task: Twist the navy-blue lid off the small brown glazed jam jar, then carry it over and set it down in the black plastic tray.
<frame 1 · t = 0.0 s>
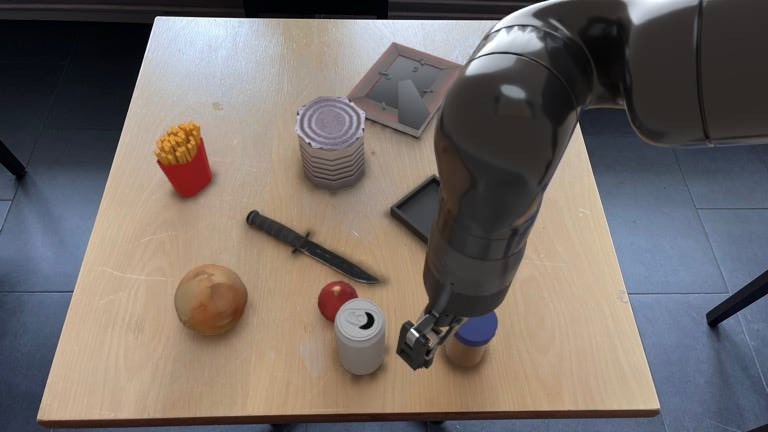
hand: (449, 333, 55), 19 cm above the table, tool pointing down, fingers open, 8 cm apart
jar: (463, 349, 74), on the table
onion: (339, 313, 77), on the table
beverage can: (361, 355, 74), on the table
lid: (474, 320, 66), point 10 cm above the table, screwed on, not yet turned
tray: (434, 215, 88), on the table
can: (334, 169, 94), on the table
french fries: (196, 183, 91), on the table
knife: (313, 251, 83), on the table
picture frame: (404, 92, 106), on the table
onion 2: (219, 314, 77), on the table
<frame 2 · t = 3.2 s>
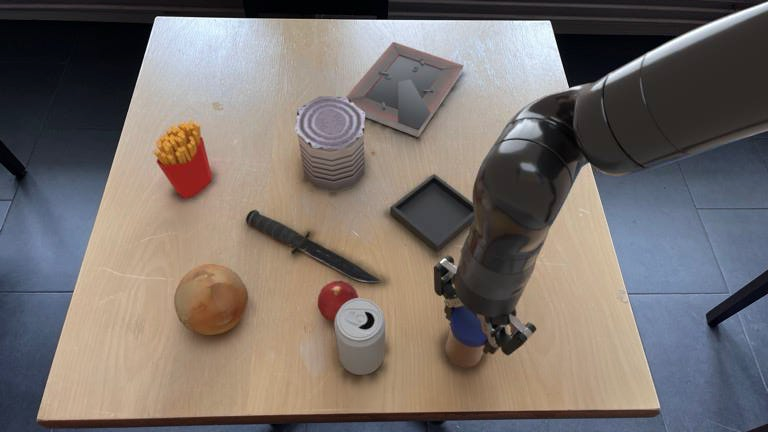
hand: (470, 331, 69), 6 cm above the table, tool pointing down, fingers closed on lid, 5 cm apart
lid: (474, 321, 66), point 10 cm above the table, screwed on, not yet turned, touching gripper
everything else where it was.
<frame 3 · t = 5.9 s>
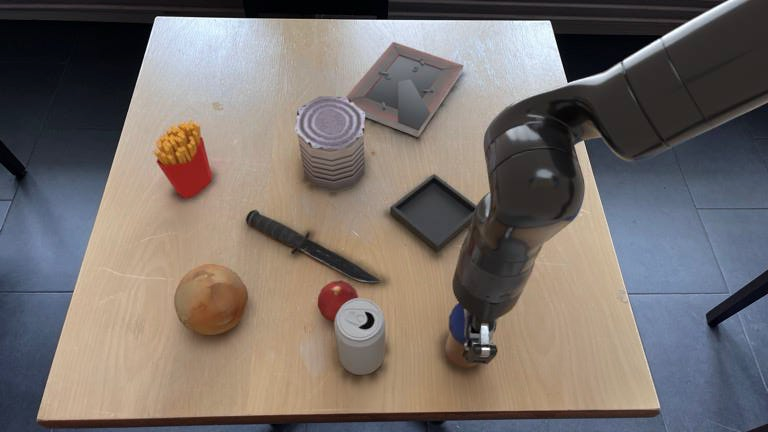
hand: (468, 331, 69), 7 cm above the table, tool pointing down, fingers closed on lid, 5 cm apart
lid: (473, 321, 66), point 10 cm above the table, off its thread, touching gripper
everything else where it was.
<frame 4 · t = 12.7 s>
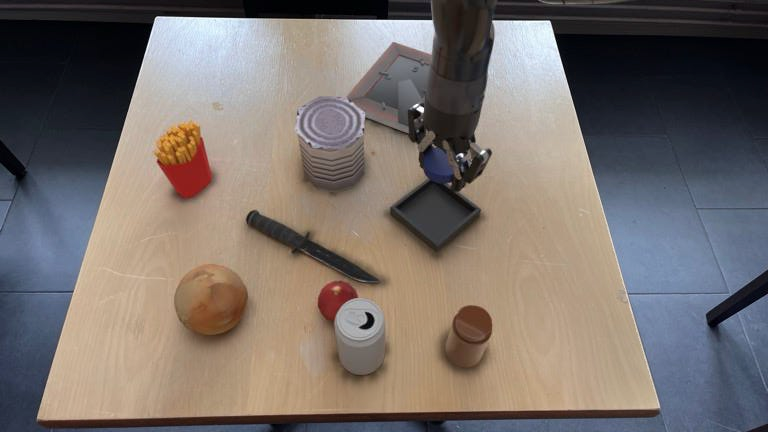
hand: (441, 176, 80), 10 cm above the table, tool pointing down, fingers closed on lid, 5 cm apart
lid: (443, 162, 77), point 13 cm above the table, off its thread, touching gripper
everything else where it was.
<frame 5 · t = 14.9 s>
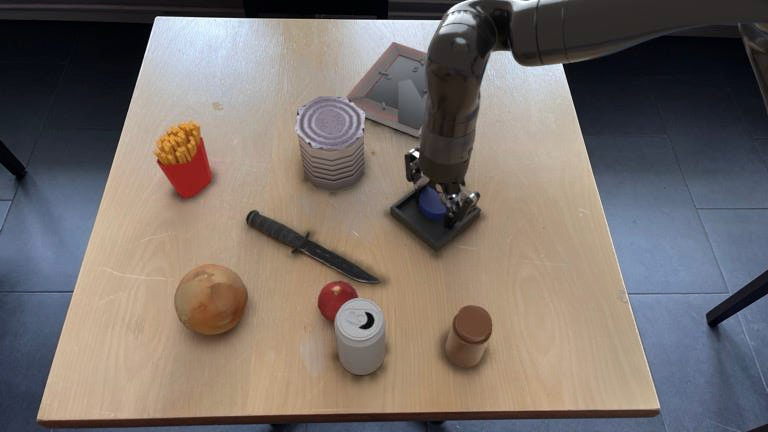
hand: (435, 212, 88), 1 cm above the table, tool pointing down, fingers closed on lid, 5 cm apart
lid: (437, 200, 85), point 4 cm above the table, off its thread, touching gripper
everything else where it was.
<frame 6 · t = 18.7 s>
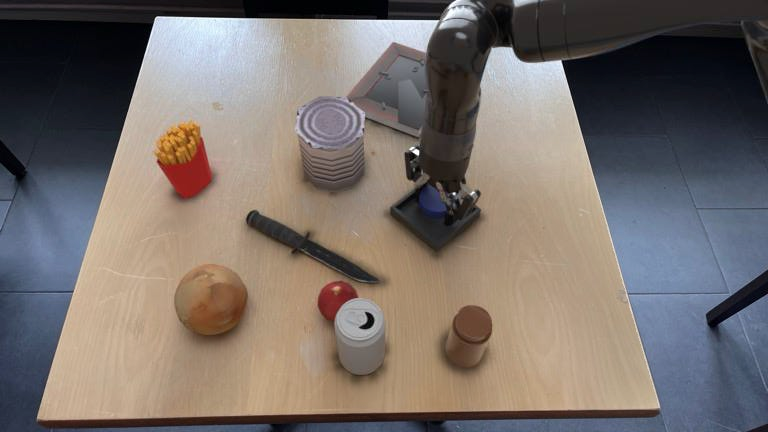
hand: (435, 211, 87), 1 cm above the table, tool pointing down, fingers closed on lid, 5 cm apart
lid: (437, 199, 84), point 4 cm above the table, off its thread, touching gripper
everything else where it was.
when the fingers open (1 cm above the table, at t = 22.2 s): lid drops 2 cm, resting on tray.
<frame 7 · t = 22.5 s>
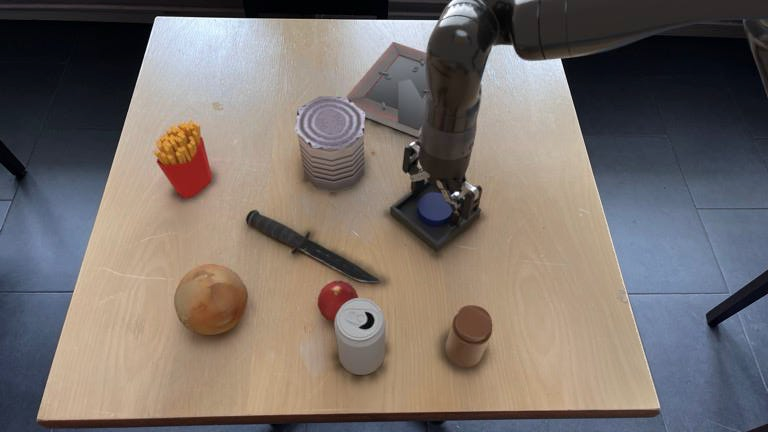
hand: (435, 207, 86), 2 cm above the table, tool pointing down, fingers open, 8 cm apart
lid: (435, 207, 86), point 2 cm above the table, off its thread, touching tray
everything else where it was.
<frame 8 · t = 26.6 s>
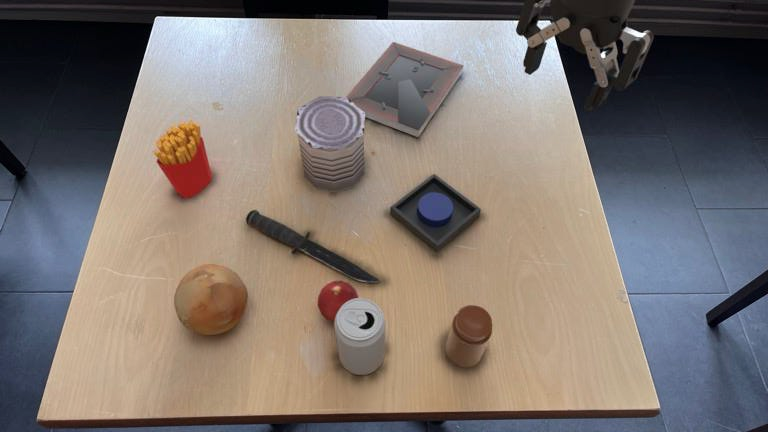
hand: (560, 88, 62), 30 cm above the table, tool pointing down, fingers open, 8 cm apart
nothing on the table moved.
at the end: lid came off its thread; lid inside the target area on the tray (0.1 cm from its centre), point 2.0 cm above the tray's base; the gripper is holding nothing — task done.
